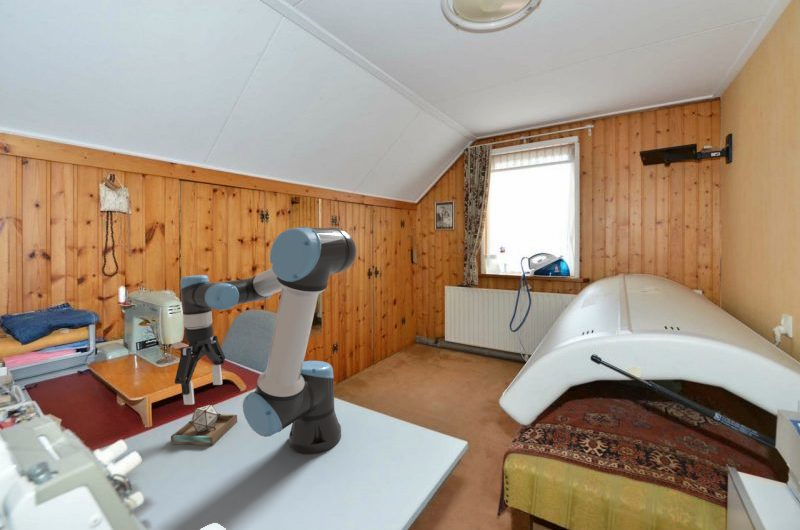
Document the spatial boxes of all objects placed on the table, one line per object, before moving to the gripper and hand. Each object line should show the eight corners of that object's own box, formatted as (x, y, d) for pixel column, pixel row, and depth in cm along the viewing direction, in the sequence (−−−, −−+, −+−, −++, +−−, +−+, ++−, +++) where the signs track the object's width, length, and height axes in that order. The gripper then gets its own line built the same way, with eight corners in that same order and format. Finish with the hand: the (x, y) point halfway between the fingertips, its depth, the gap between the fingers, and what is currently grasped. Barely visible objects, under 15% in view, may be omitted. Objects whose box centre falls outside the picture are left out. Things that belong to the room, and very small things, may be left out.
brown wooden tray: (237, 421, 115) (237, 414, 115) (212, 445, 102) (212, 437, 102) (200, 420, 116) (199, 413, 116) (171, 443, 103) (170, 436, 103)
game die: (210, 443, 108) (211, 427, 103) (182, 436, 107) (182, 419, 101) (224, 417, 115) (226, 400, 110) (198, 410, 114) (199, 393, 109)
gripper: (212, 317, 119) (217, 377, 121) (154, 337, 94) (162, 413, 96) (233, 316, 118) (238, 377, 120) (180, 337, 94) (187, 413, 95)
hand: (204, 393), depth 108 cm, fingers open, 13 cm apart
